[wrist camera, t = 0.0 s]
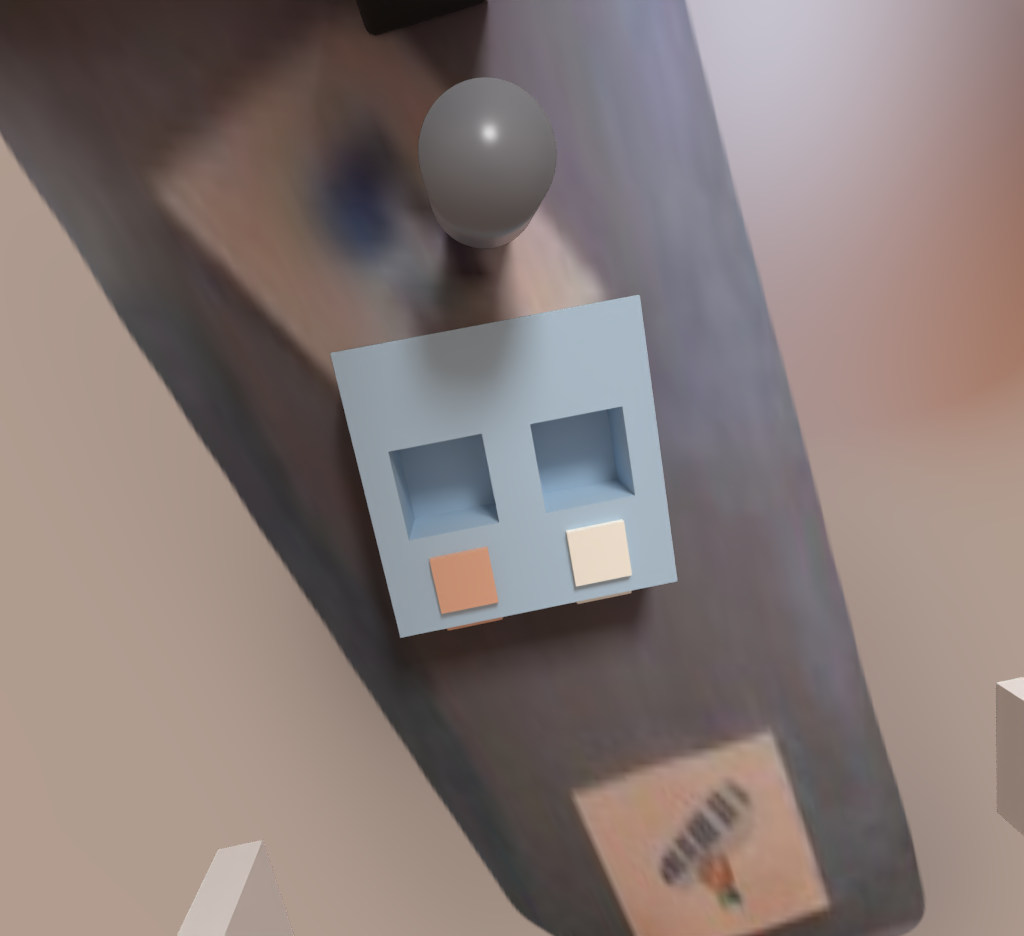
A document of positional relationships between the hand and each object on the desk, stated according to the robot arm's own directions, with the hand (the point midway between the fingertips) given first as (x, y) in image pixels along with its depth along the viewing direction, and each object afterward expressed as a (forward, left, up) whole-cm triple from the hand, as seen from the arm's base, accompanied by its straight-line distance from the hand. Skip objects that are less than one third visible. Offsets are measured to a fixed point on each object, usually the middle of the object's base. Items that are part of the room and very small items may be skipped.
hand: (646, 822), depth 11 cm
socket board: (-1, 0, -28) cm, 28 cm away
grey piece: (-15, +1, -28) cm, 32 cm away
